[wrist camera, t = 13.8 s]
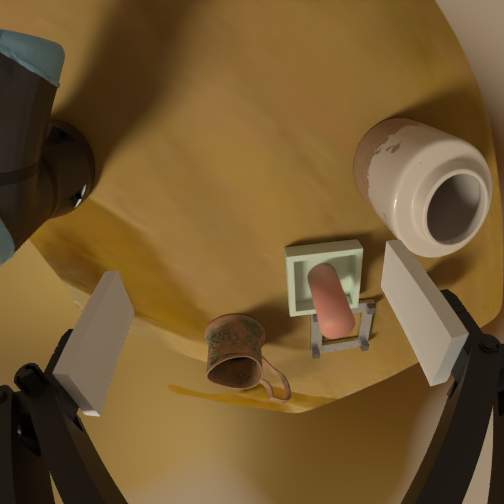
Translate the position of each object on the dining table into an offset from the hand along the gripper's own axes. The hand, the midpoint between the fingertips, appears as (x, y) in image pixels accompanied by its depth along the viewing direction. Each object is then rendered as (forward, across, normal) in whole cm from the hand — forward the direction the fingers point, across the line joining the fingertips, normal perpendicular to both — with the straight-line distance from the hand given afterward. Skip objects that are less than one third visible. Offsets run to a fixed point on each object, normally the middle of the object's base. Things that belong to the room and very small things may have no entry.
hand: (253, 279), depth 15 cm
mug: (+32, -4, -37) cm, 49 cm away
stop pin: (+31, +10, -23) cm, 40 cm away
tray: (+32, +10, -23) cm, 40 cm away
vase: (+32, +22, -5) cm, 39 cm away
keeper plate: (+32, +14, -36) cm, 50 cm away
